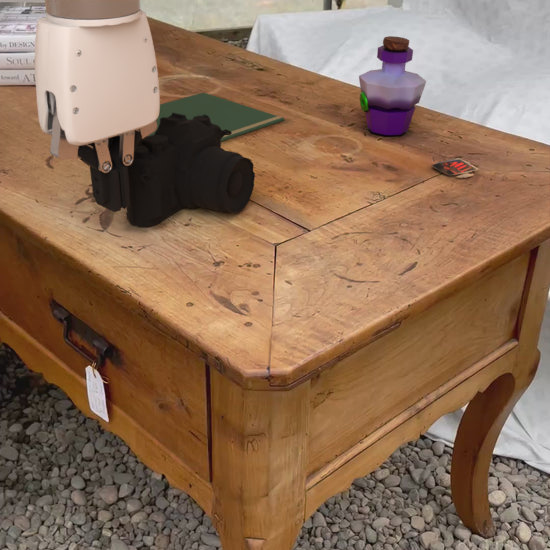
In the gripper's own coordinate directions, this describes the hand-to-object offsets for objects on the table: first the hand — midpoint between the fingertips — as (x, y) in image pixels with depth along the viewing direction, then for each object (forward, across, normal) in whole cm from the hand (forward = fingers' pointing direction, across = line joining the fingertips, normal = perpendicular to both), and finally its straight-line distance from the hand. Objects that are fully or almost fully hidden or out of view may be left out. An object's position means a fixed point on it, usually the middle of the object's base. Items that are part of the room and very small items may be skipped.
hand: (112, 205), depth 72 cm
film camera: (+4, -11, 0) cm, 12 cm away
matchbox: (+4, -39, +14) cm, 41 cm away
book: (+4, -29, -20) cm, 35 cm away
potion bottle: (+4, -45, 0) cm, 45 cm away
